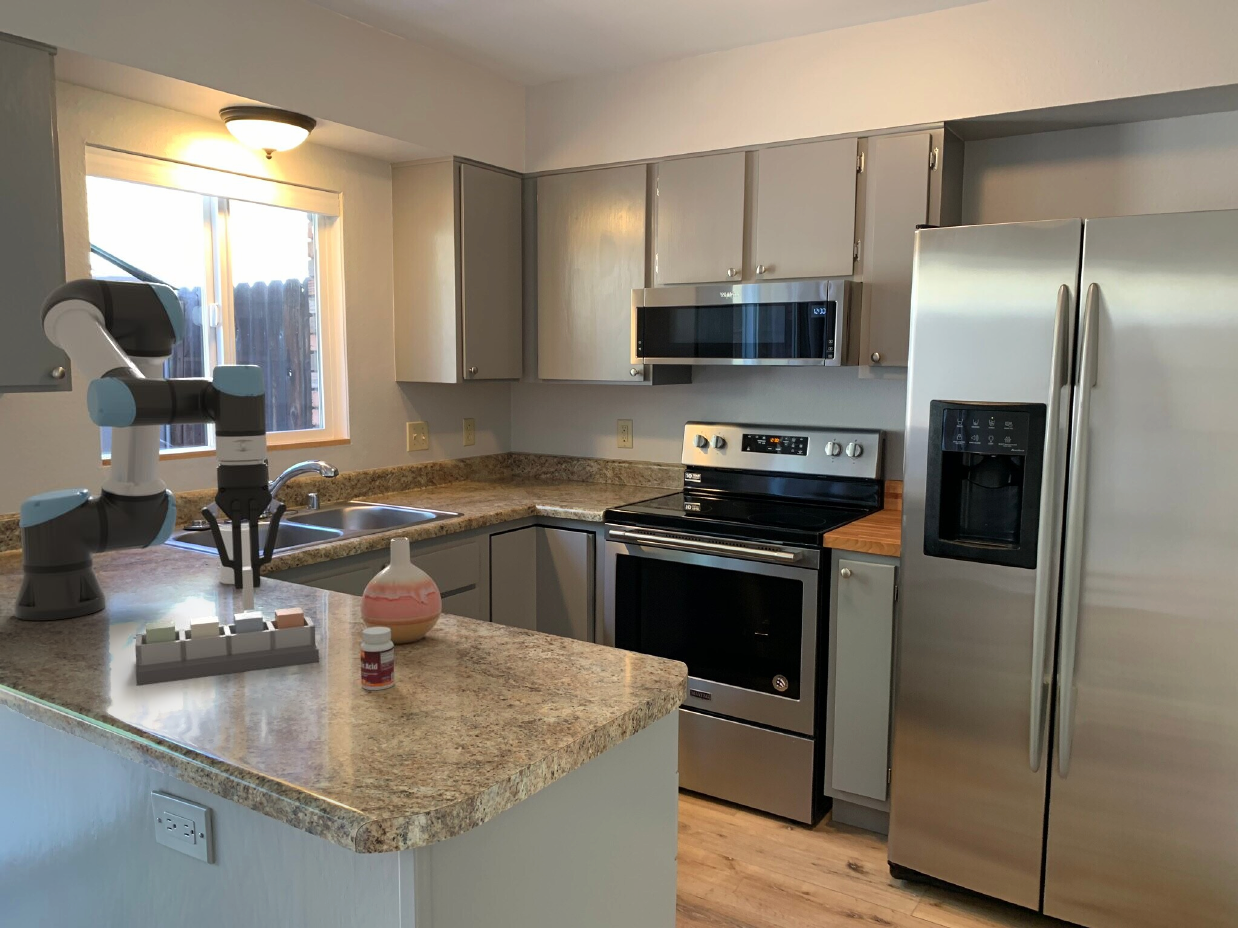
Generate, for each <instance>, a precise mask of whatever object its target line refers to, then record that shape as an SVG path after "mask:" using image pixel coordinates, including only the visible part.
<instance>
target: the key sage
mask: <svg viewBox="0 0 1238 928" xmlns="http://www.w3.org/2000/svg"><path fill="white" fill-rule="evenodd" d="M175 623H176V622H175V620H168V621H167V620H166V621H159V622H149V623H146V624H145V634H146V641H147V644H151V643H160V642H168V641H176V639H175V630H176V624H175Z"/></svg>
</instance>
